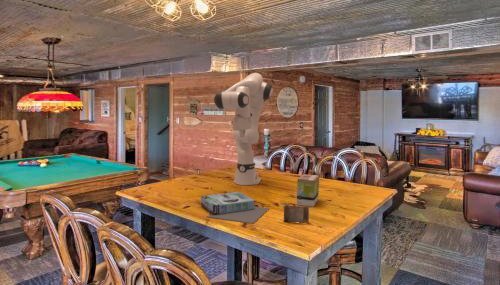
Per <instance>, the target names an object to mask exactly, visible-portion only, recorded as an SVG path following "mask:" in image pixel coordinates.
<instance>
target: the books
mask: <svg viewBox="0 0 500 285" xmlns="http://www.w3.org/2000/svg"><path fill="white" fill-rule="evenodd" d="M285 220H289V221H288V223H289V222H299V223H298V224H301V223H310V221H309V220H310V206H302V205H290V203H286V202H285V203H284V206H283V222H284V221H285Z"/></svg>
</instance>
